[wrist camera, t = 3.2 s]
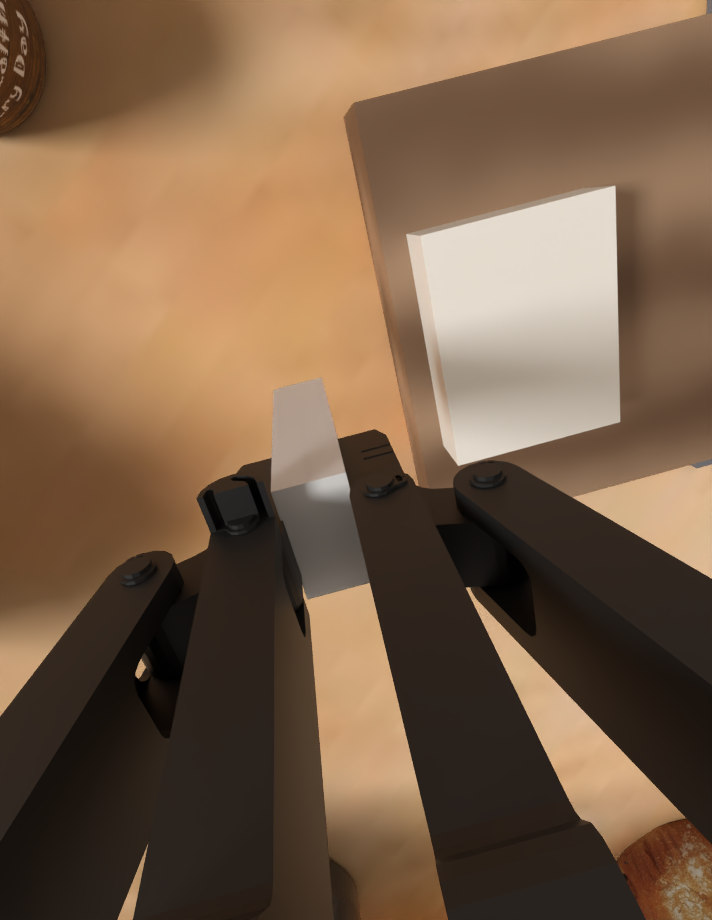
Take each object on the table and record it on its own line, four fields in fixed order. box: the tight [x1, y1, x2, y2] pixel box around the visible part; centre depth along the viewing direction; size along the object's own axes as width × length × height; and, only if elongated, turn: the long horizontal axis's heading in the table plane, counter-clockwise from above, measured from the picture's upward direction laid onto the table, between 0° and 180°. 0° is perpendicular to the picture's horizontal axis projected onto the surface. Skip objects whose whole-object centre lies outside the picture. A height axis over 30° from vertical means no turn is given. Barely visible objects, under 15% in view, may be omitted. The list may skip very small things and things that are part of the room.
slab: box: [406, 186, 620, 466], centre depth 22 cm, size 9×7×2 cm
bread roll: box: [617, 819, 712, 920], centre depth 45 cm, size 10×10×8 cm
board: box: [344, 13, 712, 497], centre depth 24 cm, size 18×14×3 cm
